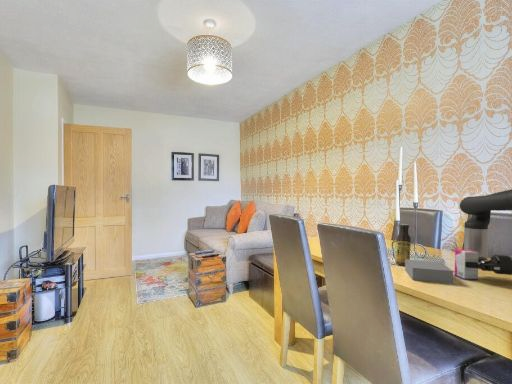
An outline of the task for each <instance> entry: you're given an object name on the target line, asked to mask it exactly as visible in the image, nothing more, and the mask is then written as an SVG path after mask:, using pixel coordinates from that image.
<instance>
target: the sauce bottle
mask: <svg viewBox="0 0 512 384" xmlns="http://www.w3.org/2000/svg"><path fill="white" fill-rule="evenodd" d="M409 228H410V224H408V223H407V224H406V223H399V232H398V235H397V236H396V242H395V258H394V259H395V260H394V261H395V264H396V265H398V266H403V267H405V259H408V260H411V246H412V245H411V243H412V241H411V240H412V238H411V236H410V235H409Z"/></svg>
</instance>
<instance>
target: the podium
mask: <svg viewBox="0 0 512 384" xmlns="http://www.w3.org/2000/svg"><path fill="white" fill-rule="evenodd" d="M404 270H405V272H406V273H407V274H408V276H409V277H410V279H411V280H412V281H420V282H430V283H439V284H440V283H441V284H451V285H453V284H454V270H452V269H451V268H450V267H448V266H447V265H446V264H444V263H443V262H442V261H434V260H420V259H419V260H418V259H410V260H408V259H405V266H404Z"/></svg>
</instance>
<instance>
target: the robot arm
mask: <svg viewBox="0 0 512 384" xmlns="http://www.w3.org/2000/svg"><path fill="white" fill-rule="evenodd" d="M459 209H460V211H461V212H463V214H466V215H470V216H471V217H470V218H469V219H468V220H467V221H465V222H464V225H463V226H464V233H463V234H464V238H463V241H464V242H463V243H464V244H463V249H467V250H472V251H475V252H478V263H476V262H465V267H467V268H477V269H478V270H481V271H483V272H493V273H494V274H497V275H506V276H507V275H509V276H512V255H504V254H500V255H499V254H494V255H492V256H491V258H490V259H489V258H488V255H489V254H488V252H489V251H488V249H489V247H488V243H489V242H488V241H489V237H488V236H489V232H488V231H489V230H488V229H489V225H490V222H491V213H492V212H491V211H502V212H503V211H512V189H508V190H502V191H499V192H494V193H491V194H485V195H478V196H466V197H464V198H463V199H462V200H461V201H460V203H459Z"/></svg>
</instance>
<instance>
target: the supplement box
mask: <svg viewBox="0 0 512 384" xmlns="http://www.w3.org/2000/svg"><path fill="white" fill-rule="evenodd" d="M465 262H476V263H478V252H475V251H472V250H467V249H464V248H463V249H459V248H456V249H455V250H454V277H457V278H459V279H461V280H464V281H478V280H479V269H477V268H467V267H465Z"/></svg>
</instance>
